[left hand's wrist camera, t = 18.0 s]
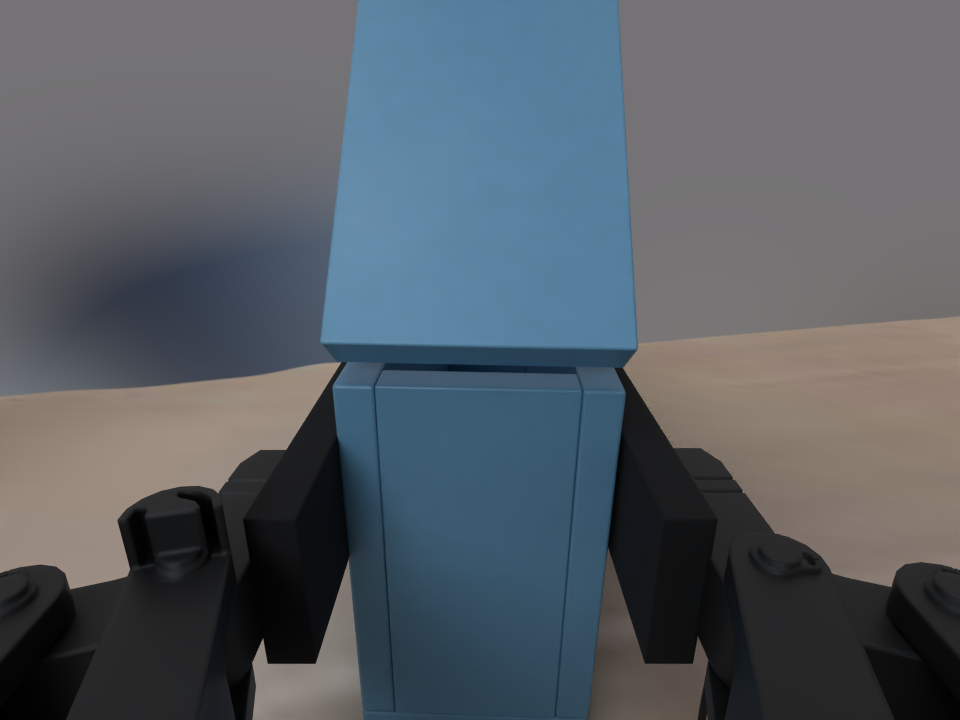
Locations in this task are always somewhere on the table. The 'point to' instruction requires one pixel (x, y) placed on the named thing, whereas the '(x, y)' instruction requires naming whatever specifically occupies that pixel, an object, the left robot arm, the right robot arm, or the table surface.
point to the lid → (483, 188)
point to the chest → (477, 534)
